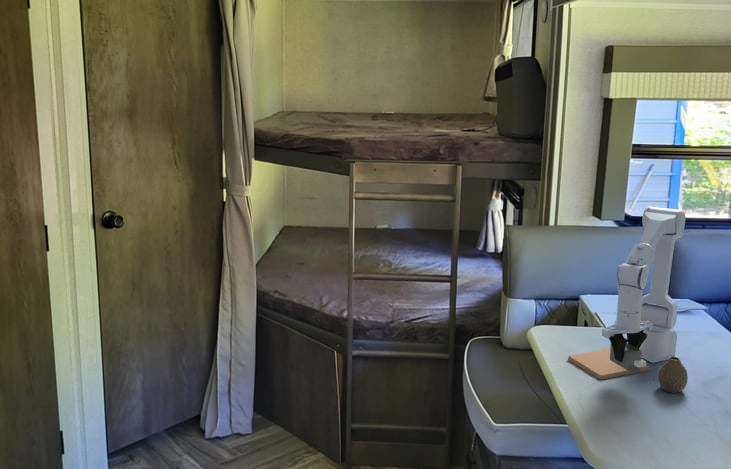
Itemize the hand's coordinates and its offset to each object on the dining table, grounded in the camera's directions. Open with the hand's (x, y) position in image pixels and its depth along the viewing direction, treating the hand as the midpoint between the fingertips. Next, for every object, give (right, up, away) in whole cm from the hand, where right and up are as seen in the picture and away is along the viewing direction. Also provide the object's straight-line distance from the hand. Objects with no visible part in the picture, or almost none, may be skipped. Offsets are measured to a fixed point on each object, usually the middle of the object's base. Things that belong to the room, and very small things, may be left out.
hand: (625, 359), depth 171 cm
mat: (+1, -4, +14) cm, 15 cm away
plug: (0, -1, 0) cm, 1 cm away
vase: (+12, -8, -1) cm, 14 cm away
